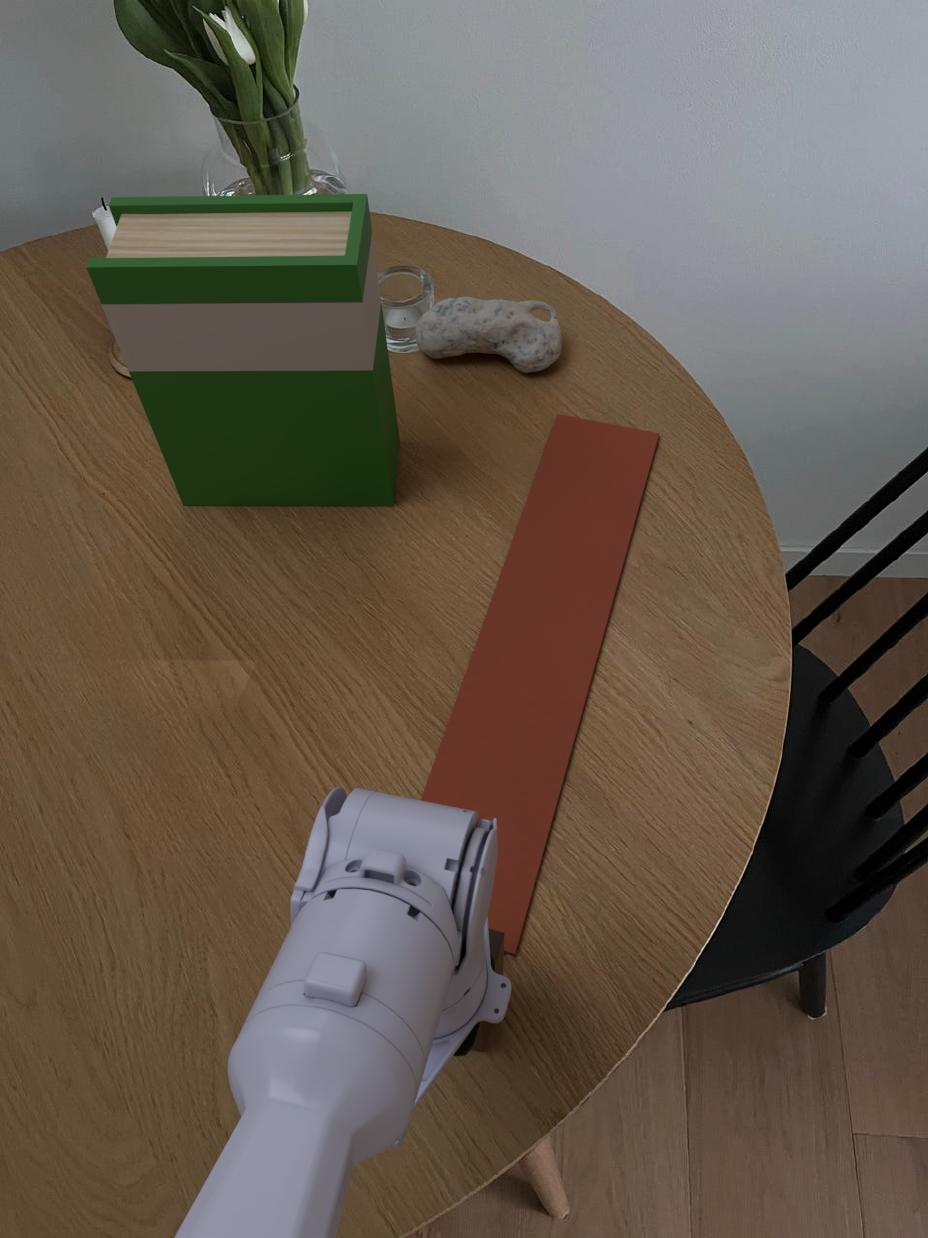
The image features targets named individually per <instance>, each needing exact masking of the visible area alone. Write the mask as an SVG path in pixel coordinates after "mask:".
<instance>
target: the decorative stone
mask: <svg viewBox="0 0 928 1238" xmlns="http://www.w3.org/2000/svg"><path fill="white" fill-rule="evenodd" d="M539 309H540V310H545V311H548V312H549V313H550V320H549V321H547V320H541V319H539V318H537V317H534V316H533V311H535V310H539ZM414 330H415V331H414V337H415V342H416V346H417V348H418V349H419V350H420V351H421V352H422V353H423V354H424V355H426V356H427V357H429V358H431V359H435V360H438V359H442V358H443V359H445V358H448V357H450V358H451V357H458V356H461V355H465V354H471V353H472V354H473V353H474V354H475V353H480V354H490V355H491V354H492V355H500V356H501V357H504V358H506V359H507V360H508V361H509V362H510V363H511V365H512V366H513V368H515V369H516V370H517V371H519V372H521V373H523V374H527V373H535V372H536V373H537V372H540V371H543V370H545V369H547V368H549V367H550V366H551V365H552V364H553V363H555V362H556V361H557V360H558V359H559V357H560V356H561V353H562V347H563V343H562V341H563V336H562V331H561V325H560V320H559V316H558V313H557V311H556V310H555V308H554V307H553V306H551V305H550V304H549V303H546V302H544V301H541V300H539V301H538V300H533V299H531V300H524V301H513V300H505V299H487V300H484V299H480V298H476V297H471V296H461V297H460V296H459V297H456V298H454V297H449V298H444V299H443V300H441V301H438V302H436V303H435V304H434V305H433V306H432V307H431V308H429V309H428V310H427V311H426V312H424V313H423V314H422V315H421V317H420V318H419V319H418V321H417V323H416V325H415V329H414Z"/></svg>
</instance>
